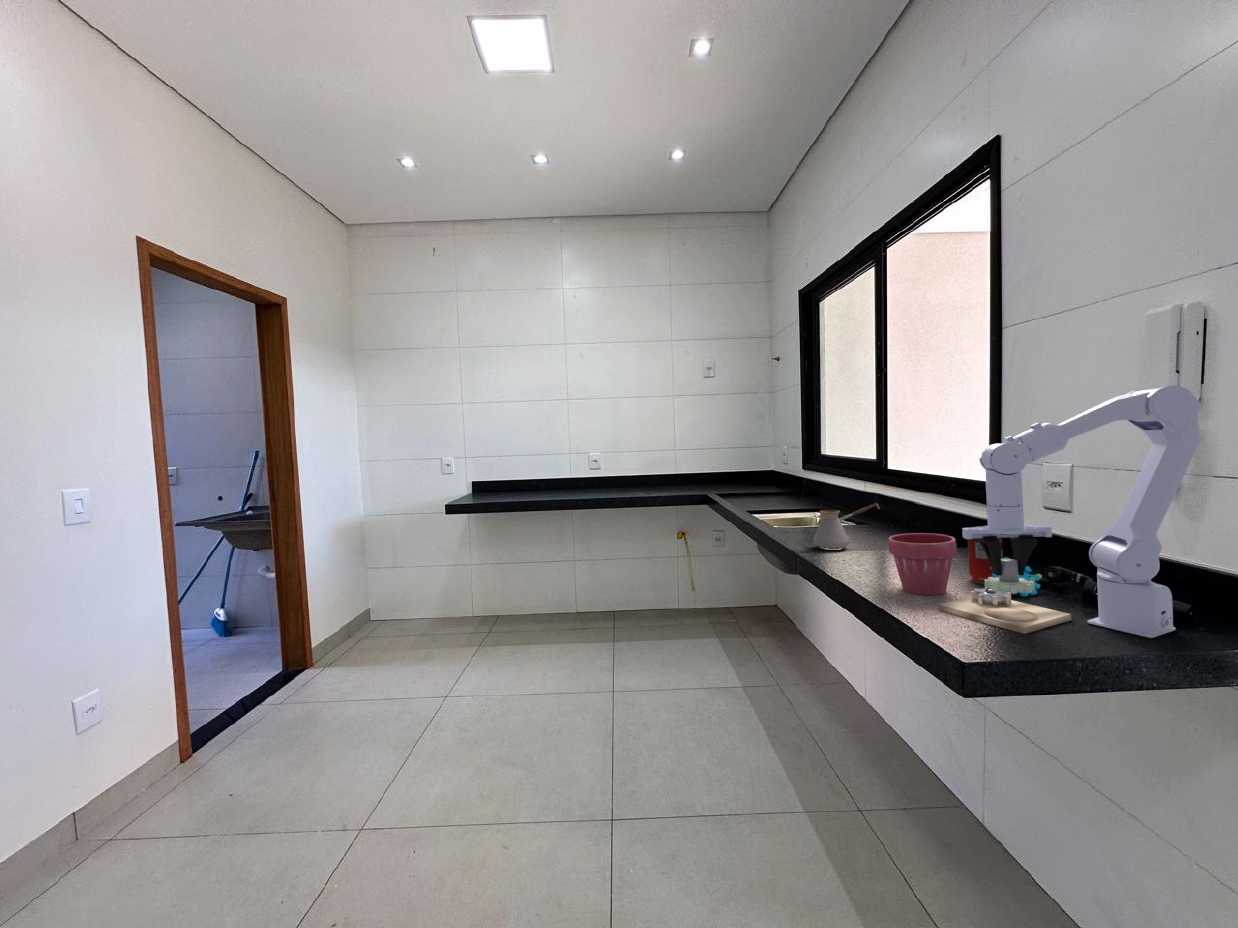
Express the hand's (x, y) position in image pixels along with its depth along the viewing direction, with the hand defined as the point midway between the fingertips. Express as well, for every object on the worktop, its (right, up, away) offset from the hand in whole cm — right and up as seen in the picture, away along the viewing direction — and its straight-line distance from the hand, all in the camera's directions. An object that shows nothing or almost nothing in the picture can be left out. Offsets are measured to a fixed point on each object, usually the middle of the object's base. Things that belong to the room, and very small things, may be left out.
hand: (1008, 574), depth 103 cm
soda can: (+15, -8, +28) cm, 33 cm away
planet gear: (0, -3, 0) cm, 3 cm away
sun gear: (+3, -8, +10) cm, 13 cm away
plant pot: (-2, -9, +24) cm, 26 cm away
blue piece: (+15, -8, +18) cm, 25 cm away
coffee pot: (+1, -7, +75) cm, 76 cm away
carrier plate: (+2, -9, +5) cm, 11 cm away
